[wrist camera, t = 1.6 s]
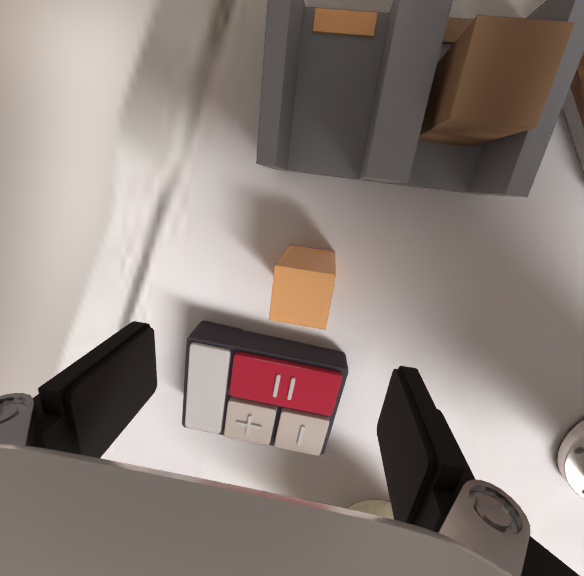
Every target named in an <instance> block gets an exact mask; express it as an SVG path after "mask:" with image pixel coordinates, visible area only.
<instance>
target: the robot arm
mask: <svg viewBox="0 0 584 576" xmlns="http://www.w3.org/2000/svg"><path fill="white" fill-rule="evenodd" d="M156 387H157V372H156V355H155V338H154V330H153V328H151V327H150V325H149V324H147V323H141V322H135V321H133V322H131V323H130V324H128V325H127V326H125V327H124V328H122V329H121V330H120V331H118V332H117V333H115V334H114V335H113V336H111V337H110V338H108V339H107V340H105V341H104V342H103V343H101V344H100V345H98V346H97V347H96V348H94V349H93V350H91V351H90V352H89V353H87V354H86V355H84V356H83V357H81V358H80V359H79V360H77V361H76V362H74V363H73V364H72V365H70V366H69V367H67V368H66V369H64V370H63V371H62V372H60V373H59V374H57V375H56V376H55V377H53V378H52V379H50V380H49V381H47V382H46V383H45V384H43V385H42V386H40V387H39V388H38V391H39V394H38V395H37V396H35V397H34V398H32V397H31V396H30V395H27V394H24V393H13V394H6V395H2V396H0V576H580V575H578V574H577V573H576V572H574V571H573V570H572V569H571V568H569V567H568V566H567V565H566V564H564V563H563V562H562V561H561V560H559V559H558V558H557V557H556V556H554V555H553V554H552V553H551V552H549V551H548V550H547V549H546V548H544V547H543V546H542V545H541V544H539V543H538V542H537V541H536V540H534V539H533V538H532V537H531V536H530V525H529V522H528V519H527V517H526V515H525V514H524V512H523V511H522V509H521V508H520V506H519V505H518V504H517V503H516V502H515V501H514V500H513V499H512V498H511V497H510V496H509V495H508V494H506V493H505V492H504V491H503V490H501V489H500V488H498V487H496V486H494V485H493V484H491V483H488V482H485V481H482V480H475V478H474V476H473V474H472V472H471V470H470V468H469V466H468V464H467V462H466V460H465V458H464V456H463V454H462V452H461V450H460V448H459V446H458V444H457V442H456V440H455V438H454V436H453V434H452V432H451V430H450V428H449V426H448V424H447V422H446V420H445V418H444V416H443V414H442V412H441V411H440V410H438V409H436V407H435V405H434V402H433V400H432V398H431V396H430V394H429V392H428V390H427V388H426V386H425V384H424V382H423V380H422V378H421V376H420V374H419V372H418V370H417V369H416V368H411V367H405V366H400V367H399V368H398V369H394V370H393V372H392V376H391V379H390V383H389V386H388V390H387V393H386V396H385V400H384V403H383V407H382V410H381V413H380V417H379V420H378V424H377V436H378V441H379V446H380V451H381V456H382V461H383V466H384V471H385V476H386V481H387V486H388V491H389V496H390V502H391V507H392V512H393V517H394V519H390V518H386V517H381V516H377V515H372V514H368V513H364V512H359V511H355V510H350V509H346V508H342V507H337V506H332V505H327V504H323V503H318V502H313V501H308V500H303V499H299V498H294V497H289V496H284V495H280V494H275V493H270V492H265V491H260V490H256V489H251V488H246V487H241V486H236V485H231V484H226V483H221V482H216V481H211V480H206V479H201V478H196V477H191V476H186V475H181V474H177V473H172V472H167V471H162V470H156V469H151V468H146V467H141V466H136V465H131V464H126V463H121V462H116V461H110V460H105V459H100V458H101V456H102V455H103V454H104V453H105V451H106V450H107V449H108V448H109V447H110V445H111V444H112V443H113V442H114V441H115V439H116V438H117V437H118V436H119V435H120V433H121V432H122V431H123V430H124V429H125V427H126V426H127V425H128V424H129V423H130V421H131V420H132V419H133V418H134V416H135V415H136V414H137V413H138V412H139V410H140V409H141V408H142V407H143V406H144V404H145V403H146V402H147V401H148V400H149V398H150V397H151V396H152V395H153V394H154V392H155V390H156ZM557 462H558V467H559V471H560V473H561V474H562V476H563V478H564V479H565V481H566V482H567V483H568V484H569V485H570V487H571V488H572V489H573V490H574V491H575V492H576V493H577V494H578V495H580V496H581V497H583V498H584V420H583V421H581V422H580V423H579V424H577V425H576V426H575V427H574V428H573V429H572V430H571V431H570V432H569V433H568V434H567V436H566V437H565V439H564V440H563V442H562V444H561V446H560V449H559V452H558V460H557Z"/></svg>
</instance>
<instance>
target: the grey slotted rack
mask: <svg viewBox="0 0 584 576" xmlns="http://www.w3.org/2000/svg"><path fill="white" fill-rule="evenodd" d="M451 4H452V0H394V1H393V4H392V7H391V10H390V13H381V12H368V11H355V10H341V9H328V8H315V7H305V6H304V0H268V4H267V19H266V33H265V47H264V61H263V76H262V90H261V104H260V118H259V132H258V147H257V161H256V164H260V165H263V166H266V167H270V168H273V169H278V170H286V171H294V172H302V173H310V174H319V175H327V176H335V177H343V178H351V179H359V180H367V181H375V182H383V183H391V184H399V185H407V186H415V187H423V188H431V189H439V190H447V191H455V192H463V193H471V194H480V195H499V196H517V197H528V194H529V192H530V189H531V186H532V184H533V181H534V179H535V176H536V173H537V171H538V168H539V166H540V163H541V161H542V158H543V155H544V153H545V150H546V148H547V145H548V142H549V140H550V137H551V135H552V132H553V129H554V127H555V124H556V122H557V119H558V117H559V114H560V111H561V109H562V106H563V104H564V101H565V98H566V96H567V93H568V91H569V88H570V86H571V83H572V80H573V78H574V75H575V73H576V70H577V67H578V65H579V62H580V60H581V57H582V55H583V52H584V0H547V1H546V2H544V3H543V4H542V5H541V6H540V7H539V8H538V9H536V10H535V11H534V12H533V13H532V14H531V15H529V16H528V17H527V18H526V19H537V20H550V21H564V22H575V24H574V26H573V29H572V32H571V35H570V37H569V40H568V43H567V45H566V48H565V51H564V54H563V56H562V59H561V62H560V64H559V67H558V70H557V73H556V75H555V78H554V81H553V83H552V86H551V89H550V92H549V94H548V97H547V100H546V103H545V105H544V108H543V111H542V113H541V116H540V119H539V122H538V124H537V127H536V128H533V129H529V130H526V131H523V132H519V133H516V134H512V135H509V136H505V137H502V138H498V139H495V140H491V141H488V142H485V143H481V144H478V145H474V146H471V147H469V146H460V145H451V144H442V143H433V142H424V141H418V139H419V135H420V131H421V127H422V123H423V119H424V115H425V111H426V107H427V102H428V98H429V94H430V90H431V86H432V82H433V78H434V74H435V70H436V66H437V63H438V61H439V60H440V59H441V58H442V57H443V56H444V54H445V53H446V52H447V51H448V50H449V48H450V47H451V46H452V45H453V44H454V43H455V41H456V40H457V39H458V38H459V37H460V36H461V34H462V33H463V32H464V31H465V30H466V28H467V27H468V26H469V25H470V24H471V23H472V21H473V19H460V18H448V17H449V12H450V8H451Z"/></svg>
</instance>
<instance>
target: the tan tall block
mask: <svg viewBox="0 0 584 576" xmlns="http://www.w3.org/2000/svg"><path fill="white" fill-rule="evenodd" d="M335 276H336V270H335V251H328V250H321V249H314V248H307V247H301V246H294V245H289V247H288V248H287V249H286V251H285V252H284V253H283V255H282V256H281V257H280V259H279V260H278V262H277V263H276V264H275V267H274V276H273V286H272V296H271V306H270V315H269V320H272V321H278V322H284V323H290V324H295V325H301V326H307V327H313V328H319V329H325V330H326V325H327V320H328V314H329V309H330V303H331V298H332V292H333V287H334V281H335Z"/></svg>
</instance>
